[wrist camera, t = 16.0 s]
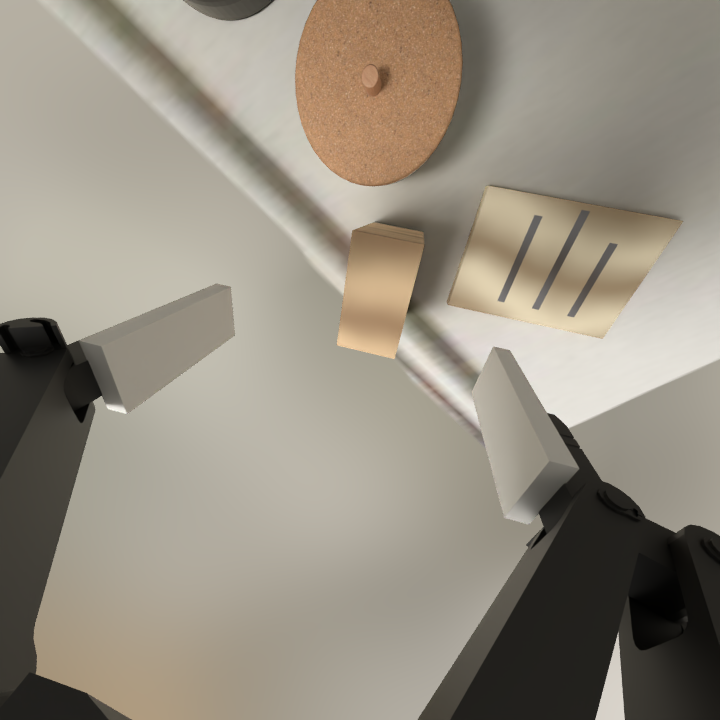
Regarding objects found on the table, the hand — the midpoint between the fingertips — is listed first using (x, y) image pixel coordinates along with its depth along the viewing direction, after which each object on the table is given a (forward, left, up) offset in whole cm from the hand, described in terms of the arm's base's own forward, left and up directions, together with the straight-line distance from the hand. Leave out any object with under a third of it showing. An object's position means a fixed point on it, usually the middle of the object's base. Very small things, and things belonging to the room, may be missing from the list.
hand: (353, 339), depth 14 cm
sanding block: (0, 0, -19) cm, 19 cm away
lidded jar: (-12, -3, -19) cm, 23 cm away
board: (-3, +15, -19) cm, 24 cm away
